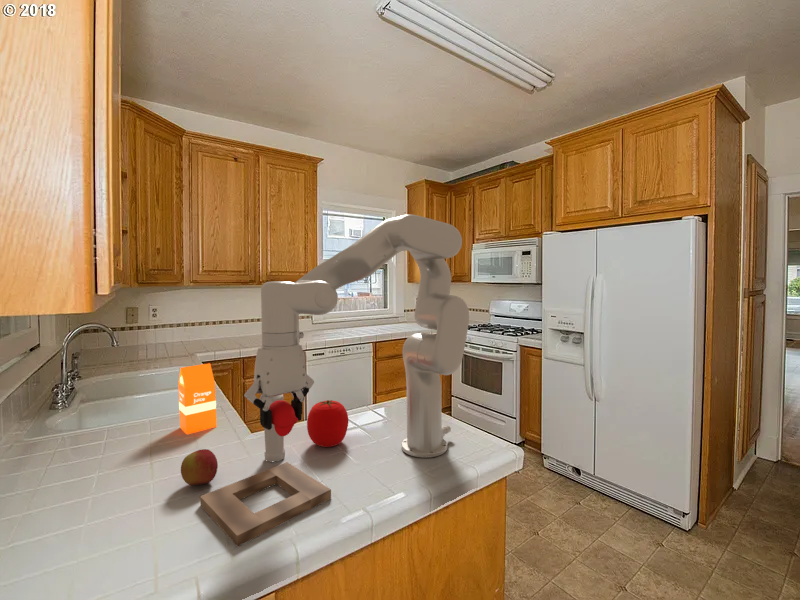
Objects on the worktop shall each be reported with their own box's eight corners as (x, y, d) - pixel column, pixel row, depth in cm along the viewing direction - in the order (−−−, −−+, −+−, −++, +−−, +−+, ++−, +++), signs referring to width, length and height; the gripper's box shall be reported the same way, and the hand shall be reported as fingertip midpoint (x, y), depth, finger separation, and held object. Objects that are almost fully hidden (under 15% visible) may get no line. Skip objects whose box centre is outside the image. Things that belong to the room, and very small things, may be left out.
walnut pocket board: (287, 470, 94) (287, 462, 94) (331, 498, 82) (330, 489, 82) (200, 505, 80) (200, 496, 80) (237, 546, 67) (237, 535, 67)
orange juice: (179, 427, 122) (176, 365, 121) (209, 420, 128) (207, 361, 127) (186, 434, 116) (183, 369, 115) (217, 426, 122) (214, 365, 121)
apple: (222, 473, 93) (221, 441, 92) (213, 491, 85) (212, 456, 85) (188, 477, 91) (186, 444, 91) (175, 496, 83) (174, 460, 83)
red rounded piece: (260, 411, 84) (259, 404, 79) (286, 398, 87) (286, 391, 82) (275, 445, 82) (274, 440, 77) (301, 430, 84) (302, 425, 79)
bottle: (279, 463, 97) (275, 366, 96) (260, 462, 98) (257, 366, 97) (288, 454, 102) (286, 362, 101) (271, 453, 103) (268, 361, 102)
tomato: (329, 456, 101) (328, 409, 100) (298, 447, 107) (296, 402, 106) (358, 439, 111) (357, 397, 111) (328, 431, 117) (327, 391, 117)
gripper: (306, 334, 90) (307, 409, 91) (232, 342, 77) (233, 430, 78) (325, 337, 85) (325, 417, 85) (248, 346, 72) (250, 440, 73)
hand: (281, 422), depth 82 cm, fingers closed on red rounded piece, 6 cm apart
